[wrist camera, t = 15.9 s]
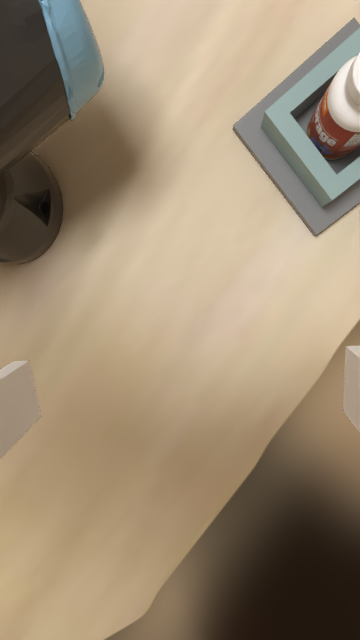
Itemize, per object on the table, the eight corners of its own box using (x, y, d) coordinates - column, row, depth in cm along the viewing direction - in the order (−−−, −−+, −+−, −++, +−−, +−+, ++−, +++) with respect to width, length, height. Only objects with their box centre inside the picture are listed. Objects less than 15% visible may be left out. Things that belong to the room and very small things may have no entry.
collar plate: (232, 129, 37) (234, 109, 33) (350, 24, 34) (369, -13, 30) (314, 236, 38) (326, 230, 33) (437, 141, 35) (468, 122, 30)
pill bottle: (297, 116, 35) (332, 45, 24) (353, 92, 34) (416, 7, 23) (314, 170, 36) (355, 124, 25) (369, 148, 35) (437, 90, 24)
